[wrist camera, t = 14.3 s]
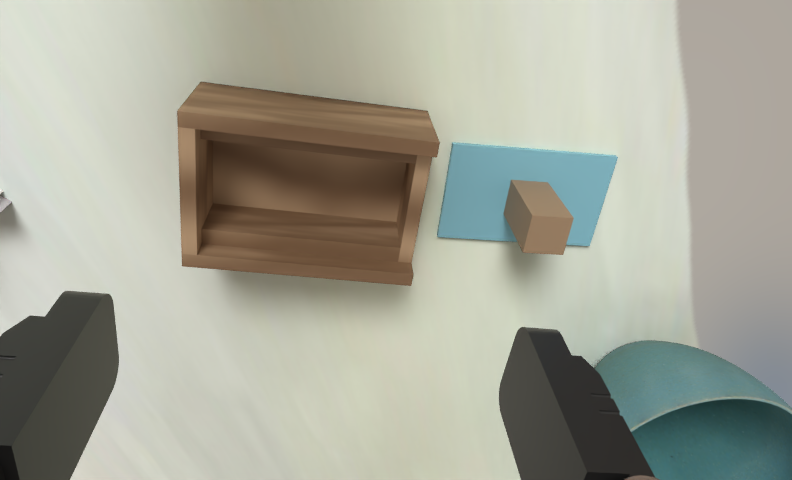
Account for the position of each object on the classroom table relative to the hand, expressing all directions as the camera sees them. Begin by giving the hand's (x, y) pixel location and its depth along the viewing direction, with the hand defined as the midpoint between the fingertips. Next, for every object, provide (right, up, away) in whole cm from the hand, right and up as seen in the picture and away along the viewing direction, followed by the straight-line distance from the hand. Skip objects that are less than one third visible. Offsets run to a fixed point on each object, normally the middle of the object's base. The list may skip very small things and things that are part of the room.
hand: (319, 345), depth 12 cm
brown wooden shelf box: (-5, +8, +32) cm, 34 cm away
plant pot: (+25, -11, +46) cm, 53 cm away
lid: (+12, +6, +35) cm, 38 cm away
